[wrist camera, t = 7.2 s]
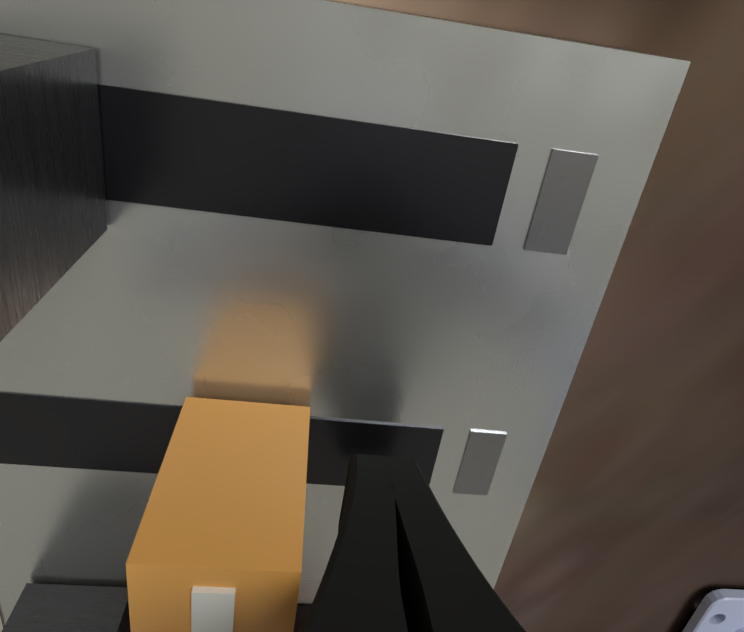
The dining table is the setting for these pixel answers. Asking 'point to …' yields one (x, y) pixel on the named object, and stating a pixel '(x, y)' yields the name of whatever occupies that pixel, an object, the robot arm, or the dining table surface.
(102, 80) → the slider control panel
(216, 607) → the breaker
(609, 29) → the dining table surface
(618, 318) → the dining table surface
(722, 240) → the dining table surface
